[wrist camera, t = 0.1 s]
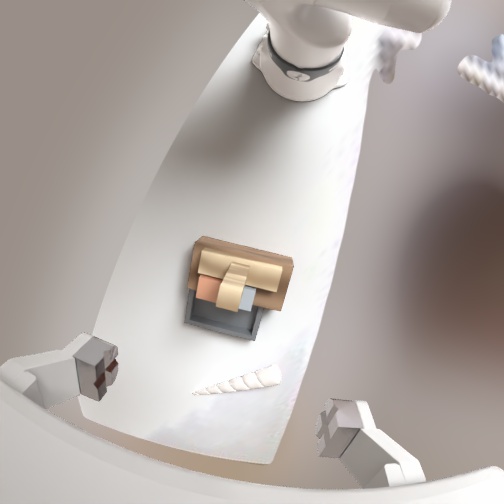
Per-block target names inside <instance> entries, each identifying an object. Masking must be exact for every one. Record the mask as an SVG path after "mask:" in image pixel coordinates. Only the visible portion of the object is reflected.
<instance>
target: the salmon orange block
mask: <svg viewBox="0 0 504 504" xmlns="http://www.w3.org/2000/svg"><path fill="white" fill-rule="evenodd" d="M222 281H223V279H220V278H217V277H213V276H209V275H205V274H201V275H200V277H199V282H198V287H197V293H196V298H199V299H203V300H207V301H211V302H214V303H216V302H217V298H218V293H219V288H220V285H221V283H222Z"/></svg>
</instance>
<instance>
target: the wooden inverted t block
mask: <svg viewBox="0 0 504 504" xmlns="http://www.w3.org/2000/svg"><path fill="white" fill-rule="evenodd" d="M198 273H201V274H205V275H209V276H213V277H217V278H220V279H223V281H222V283H221V285H220V288H219V293H218V298H217V302H216V307H219V308H223V309H227V310H231V311H235V312H238V308H239V305H240V301H241V298H242V294H243V291H244V287H245V285H249V286H253V287H257V288H261V289H265V290H270V291H274V292H277V288H278V285H279V281H280V278H281V274H282V266H278V265H274V264H270V263H266V262H262V261H258V260H254V259H250V258H245V257H241V256H237V255H233V254H229V253H225V252H221V251H217V250H213V249H209V248H204V249H203V250H202V253H201V258H200V263H199V269H198Z"/></svg>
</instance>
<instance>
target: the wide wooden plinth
mask: <svg viewBox="0 0 504 504" xmlns="http://www.w3.org/2000/svg"><path fill="white" fill-rule="evenodd" d="M204 248H209V249H213V250H217V251H221V252H225V253H229V254H233V255H237V256H241V257H245V258H250V259H254V260H258V261H262V262H266V263H270V264H274V265H278V266H282V274H281V278H280V281H279V285H278V288H277V292H274V291H270V290H265V289H261V288H257V287H256V292H255V296H254V300H253V304H252V305H255V306H260V307H264V308H268V309H273V310H277V311H281V309H282V305H283V302H284V299H285V295H286V292H287V288H288V285H289V281H290V278H291V274H292V271H293V267H294V265H293V260H292V257H287V256H283V255H279V254H275V253H271V252H267V251H263V250H259V249H255V248H250V247H246V246H242V245H238V244H234V243H230V242H226V241H221V240H217V239H213V238H209V237H205V236H202V237H201V238H200V239H199V240H197V241H196V242H195V245H194V250H193V256H192V262H191V268H190V273H189V279H188V286H187V288H189V289H192V290H196V291H197V287H198V282H199V277H200V275H201V273H198V269H199V263H200V258H201V253H202V250H203V249H204Z"/></svg>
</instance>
